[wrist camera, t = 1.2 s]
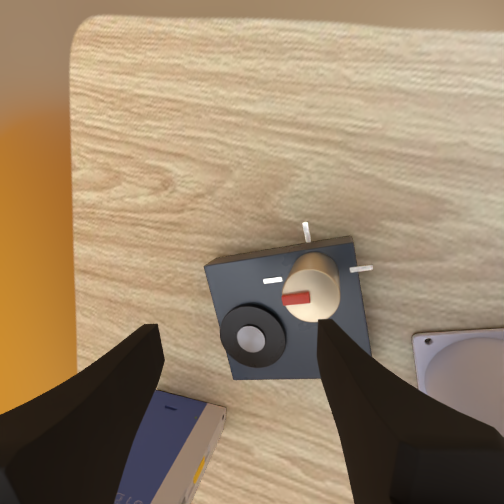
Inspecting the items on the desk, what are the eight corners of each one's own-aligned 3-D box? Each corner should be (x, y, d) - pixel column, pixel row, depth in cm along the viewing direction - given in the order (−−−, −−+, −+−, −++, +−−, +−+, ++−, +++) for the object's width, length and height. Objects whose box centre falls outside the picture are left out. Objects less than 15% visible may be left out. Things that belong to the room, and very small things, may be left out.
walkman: (157, 411, 30) (53, 546, 19) (156, 389, 30) (47, 516, 18) (226, 430, 28) (156, 594, 17) (227, 407, 28) (154, 562, 16)
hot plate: (360, 206, 20) (364, 210, 18) (383, 357, 22) (389, 379, 20) (210, 236, 24) (196, 242, 21) (242, 362, 26) (232, 381, 23)
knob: (334, 248, 19) (335, 266, 15) (342, 293, 19) (345, 323, 15) (287, 255, 20) (275, 274, 16) (296, 298, 20) (287, 327, 16)
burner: (278, 300, 21) (277, 303, 20) (292, 363, 22) (291, 369, 21) (215, 306, 22) (211, 310, 22) (230, 365, 23) (227, 370, 23)
